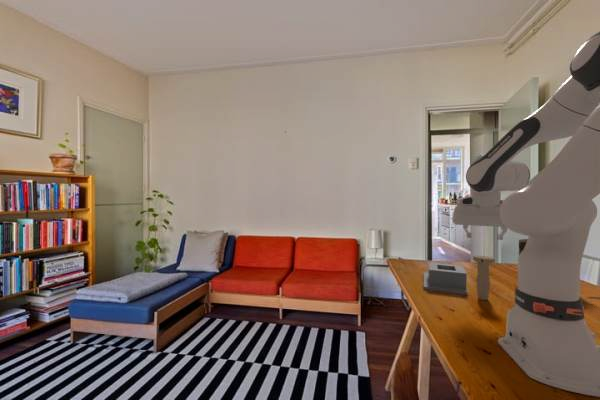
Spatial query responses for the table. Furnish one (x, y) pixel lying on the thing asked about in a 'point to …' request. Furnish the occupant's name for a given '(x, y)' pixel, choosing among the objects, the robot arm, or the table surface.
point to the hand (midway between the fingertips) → (484, 238)
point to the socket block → (446, 278)
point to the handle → (483, 276)
